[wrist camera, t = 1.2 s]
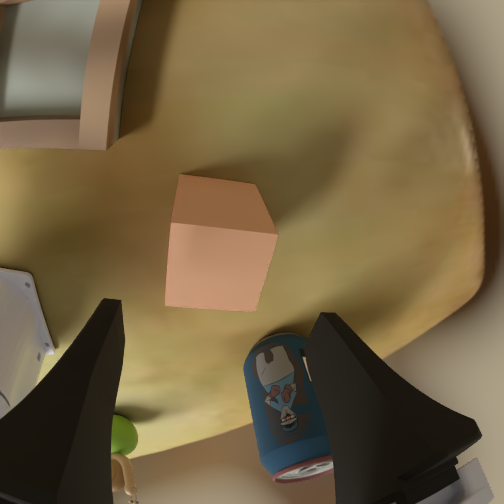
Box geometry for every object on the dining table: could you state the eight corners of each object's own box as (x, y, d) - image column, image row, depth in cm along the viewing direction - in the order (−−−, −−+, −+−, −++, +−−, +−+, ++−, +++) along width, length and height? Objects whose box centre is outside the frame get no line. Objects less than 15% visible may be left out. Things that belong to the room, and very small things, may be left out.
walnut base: (118, 139, 15) (105, 150, 13) (-16, 139, 12) (-38, 150, 10) (151, -29, 10) (143, -44, 8) (3, -8, 7) (-19, -13, 5)
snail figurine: (152, 418, 32) (154, 507, 22) (120, 428, 33) (118, 508, 23) (119, 401, 29) (114, 498, 19) (88, 412, 30) (81, 498, 20)
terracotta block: (240, 247, 20) (255, 311, 15) (171, 240, 19) (164, 305, 14) (255, 183, 18) (278, 234, 13) (179, 173, 17) (170, 222, 12)
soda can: (285, 378, 30) (314, 482, 20) (227, 365, 27) (246, 487, 17) (329, 337, 27) (376, 451, 17) (270, 318, 24) (309, 457, 14)
